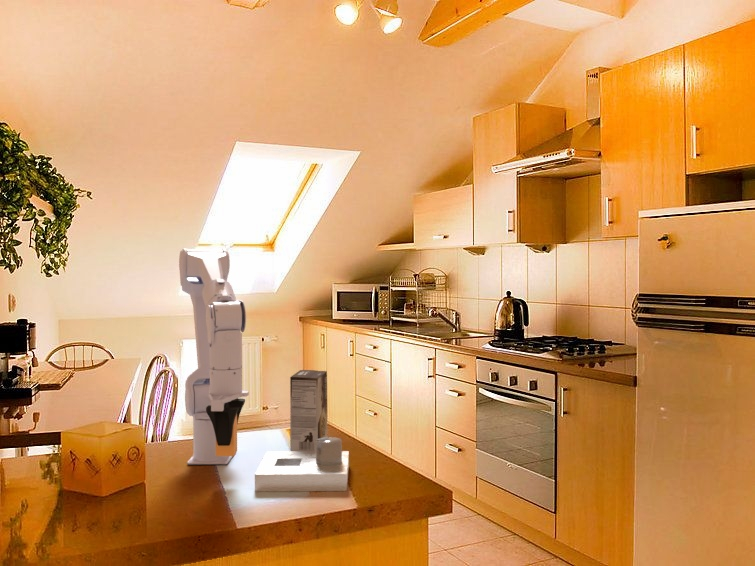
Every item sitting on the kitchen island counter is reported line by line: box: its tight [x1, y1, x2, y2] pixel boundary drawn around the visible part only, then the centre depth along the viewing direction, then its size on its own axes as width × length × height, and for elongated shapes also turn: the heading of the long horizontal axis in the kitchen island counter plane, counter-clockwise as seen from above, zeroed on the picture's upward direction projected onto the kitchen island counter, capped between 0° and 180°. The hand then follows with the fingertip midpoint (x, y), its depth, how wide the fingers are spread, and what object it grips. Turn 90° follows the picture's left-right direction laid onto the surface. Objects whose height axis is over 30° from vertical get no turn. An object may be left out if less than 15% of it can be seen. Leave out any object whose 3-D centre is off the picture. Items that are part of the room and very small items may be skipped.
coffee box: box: [289, 369, 328, 451], centre depth 140 cm, size 9×6×16 cm
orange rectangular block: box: [216, 414, 238, 457], centre depth 117 cm, size 3×3×7 cm
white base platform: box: [254, 436, 350, 492], centre depth 120 cm, size 14×16×7 cm
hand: (226, 442), depth 117 cm, fingers closed on orange rectangular block, 3 cm apart
